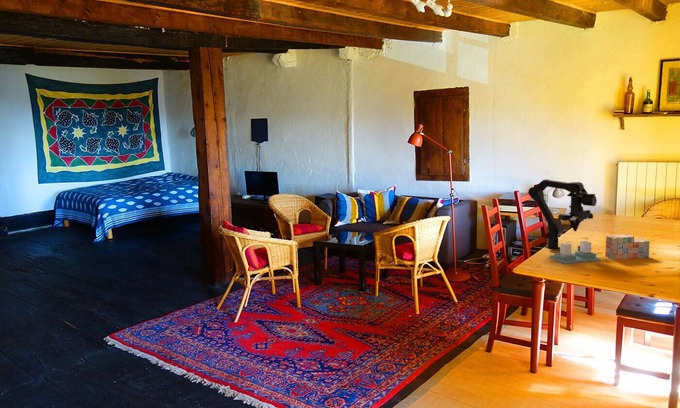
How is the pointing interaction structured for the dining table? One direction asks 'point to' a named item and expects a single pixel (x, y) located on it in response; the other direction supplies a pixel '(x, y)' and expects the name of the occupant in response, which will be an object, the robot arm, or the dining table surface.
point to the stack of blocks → (626, 247)
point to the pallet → (572, 255)
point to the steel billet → (585, 247)
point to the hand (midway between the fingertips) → (575, 231)
